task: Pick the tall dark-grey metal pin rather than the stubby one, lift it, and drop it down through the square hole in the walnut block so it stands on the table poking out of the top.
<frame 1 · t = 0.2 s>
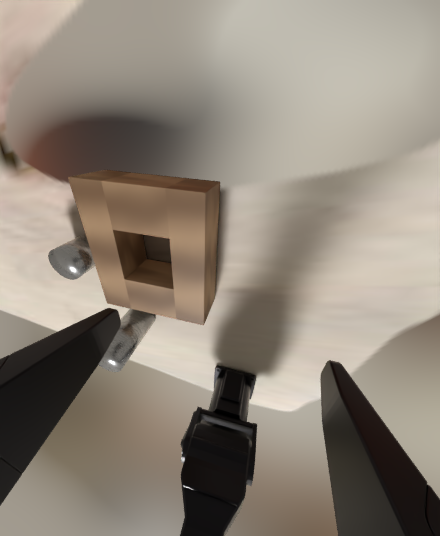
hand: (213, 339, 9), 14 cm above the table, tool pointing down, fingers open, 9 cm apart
short pin: (90, 249, 28), on the table
hole block: (165, 241, 24), on the table
tall pin: (142, 314, 32), on the table
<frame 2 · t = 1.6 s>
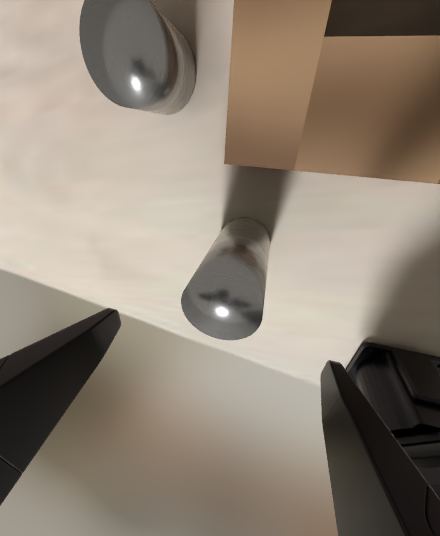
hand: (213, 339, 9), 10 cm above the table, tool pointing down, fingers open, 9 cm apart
short pin: (163, 72, 13), on the table
tall pin: (244, 242, 17), on the table
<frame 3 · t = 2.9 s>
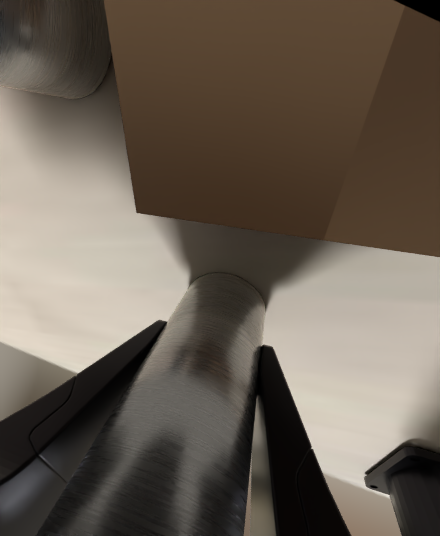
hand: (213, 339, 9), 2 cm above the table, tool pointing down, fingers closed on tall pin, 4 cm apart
short pin: (51, 13, 6), on the table
tall pin: (224, 307, 11), on the table, touching gripper
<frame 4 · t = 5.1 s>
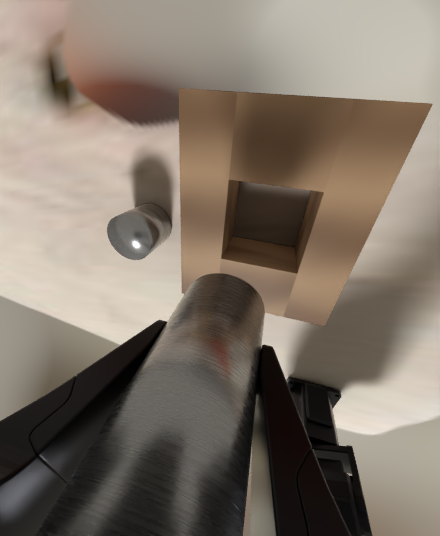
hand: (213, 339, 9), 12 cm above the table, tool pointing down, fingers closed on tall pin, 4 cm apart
short pin: (152, 223, 21), on the table
hole block: (269, 211, 18), on the table
tall pin: (223, 307, 11), point 10 cm above the table, touching gripper
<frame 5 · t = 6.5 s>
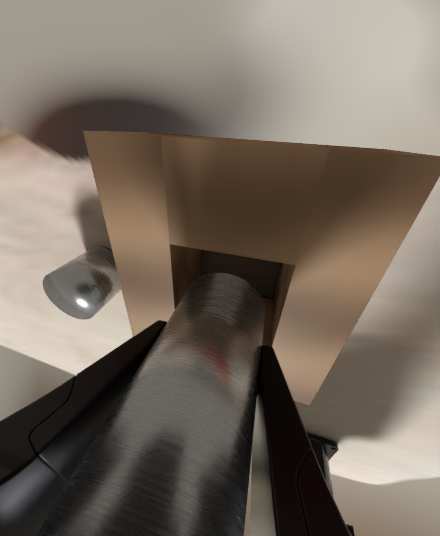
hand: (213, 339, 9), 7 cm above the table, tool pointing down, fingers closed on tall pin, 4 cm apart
short pin: (108, 268, 18), on the table
hole block: (239, 260, 14), on the table
tall pin: (224, 306, 11), point 5 cm above the table, touching gripper
when the fingers open (5 cm above the table, at t = 7.3 s): tall pin drops 3 cm, resting in hole block.
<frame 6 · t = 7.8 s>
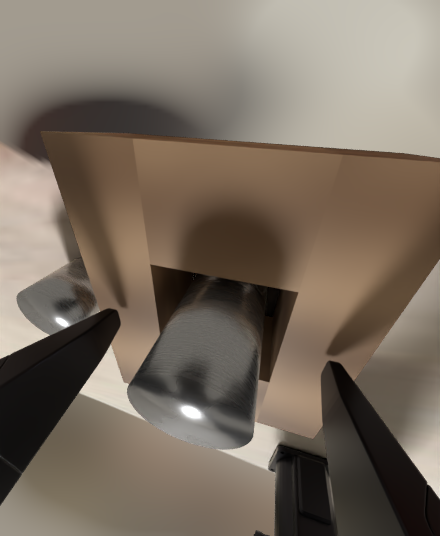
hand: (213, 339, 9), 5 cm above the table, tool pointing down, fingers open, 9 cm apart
short pin: (93, 280, 17), on the table
hole block: (234, 274, 13), on the table
tall pin: (235, 274, 13), resting in hole block
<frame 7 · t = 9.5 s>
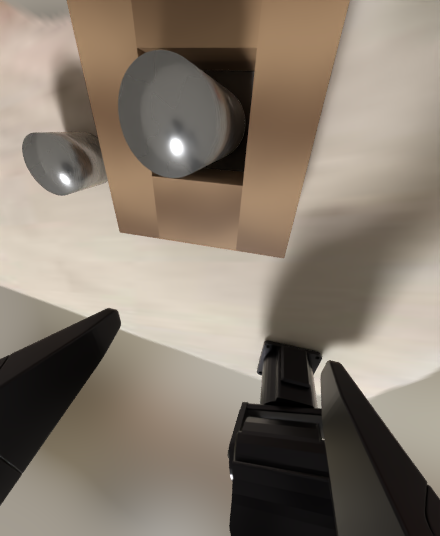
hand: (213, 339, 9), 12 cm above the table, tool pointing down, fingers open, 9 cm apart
short pin: (90, 159, 18), on the table
hole block: (216, 124, 15), on the table
tall pin: (216, 125, 15), resting in hole block
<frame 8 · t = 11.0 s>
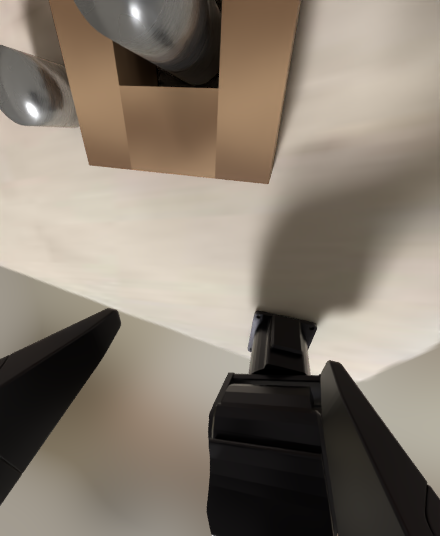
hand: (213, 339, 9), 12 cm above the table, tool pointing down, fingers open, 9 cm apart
short pin: (64, 97, 17), on the table
hole block: (195, 42, 13), on the table
tall pin: (195, 43, 13), resting in hole block
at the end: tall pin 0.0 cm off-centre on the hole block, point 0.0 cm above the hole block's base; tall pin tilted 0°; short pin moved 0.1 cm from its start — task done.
